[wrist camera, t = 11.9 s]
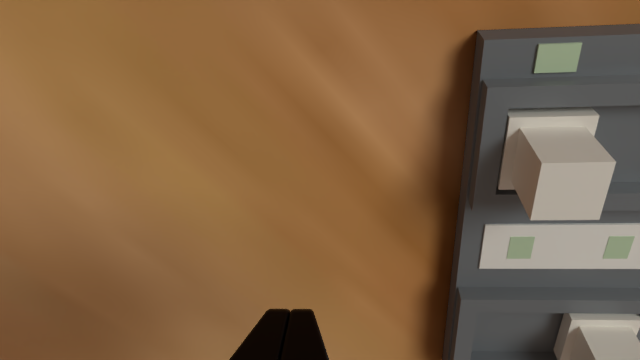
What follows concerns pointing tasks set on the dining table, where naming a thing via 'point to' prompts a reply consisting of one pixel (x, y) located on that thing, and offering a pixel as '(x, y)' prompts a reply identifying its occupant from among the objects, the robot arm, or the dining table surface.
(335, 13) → the dining table surface
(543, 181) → the tab
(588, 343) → the tab
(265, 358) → the robot arm
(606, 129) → the switch bank
